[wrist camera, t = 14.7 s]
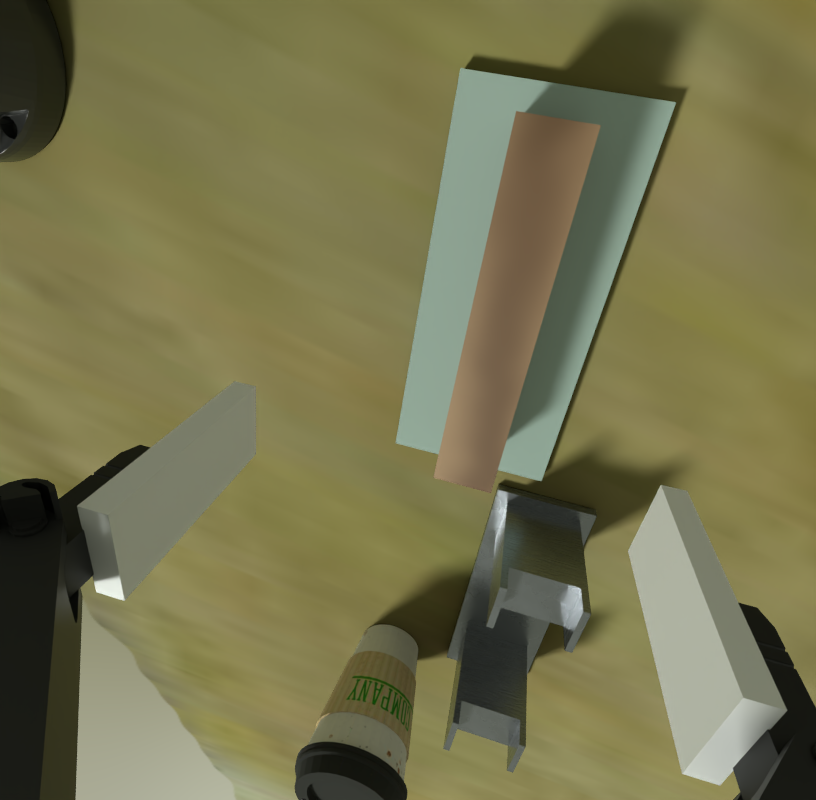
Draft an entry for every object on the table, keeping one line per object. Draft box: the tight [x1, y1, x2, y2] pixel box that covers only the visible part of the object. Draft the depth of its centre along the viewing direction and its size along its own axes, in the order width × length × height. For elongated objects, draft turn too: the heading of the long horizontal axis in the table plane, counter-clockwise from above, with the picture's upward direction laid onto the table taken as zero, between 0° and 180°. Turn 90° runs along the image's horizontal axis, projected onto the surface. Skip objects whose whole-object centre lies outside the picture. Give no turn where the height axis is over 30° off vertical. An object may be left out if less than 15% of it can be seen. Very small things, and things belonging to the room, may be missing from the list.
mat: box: [396, 68, 676, 481], centre depth 34 cm, size 12×26×1 cm, turn 171°
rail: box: [433, 111, 601, 493], centre depth 31 cm, size 4×22×6 cm, turn 171°
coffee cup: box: [295, 624, 418, 800], centre depth 47 cm, size 10×10×15 cm
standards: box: [443, 484, 597, 772], centre depth 42 cm, size 8×22×10 cm, turn 171°
